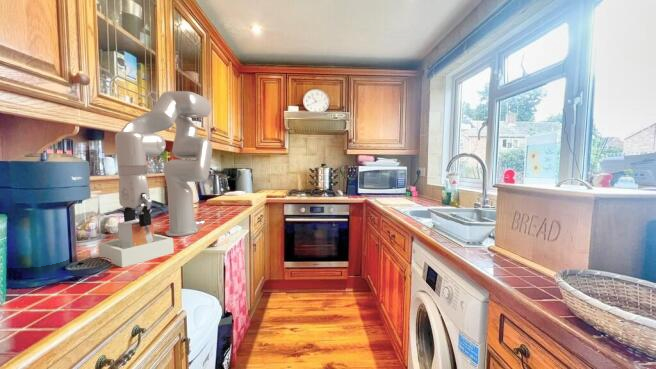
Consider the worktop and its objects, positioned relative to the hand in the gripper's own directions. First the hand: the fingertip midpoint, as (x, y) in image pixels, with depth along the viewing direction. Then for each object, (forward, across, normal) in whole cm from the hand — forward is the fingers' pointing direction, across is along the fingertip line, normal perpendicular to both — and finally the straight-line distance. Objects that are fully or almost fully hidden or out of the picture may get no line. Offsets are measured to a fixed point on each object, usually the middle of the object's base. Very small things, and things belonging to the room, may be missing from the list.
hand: (137, 223), depth 90 cm
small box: (+10, +1, -1) cm, 10 cm away
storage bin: (+10, +1, -1) cm, 10 cm away
